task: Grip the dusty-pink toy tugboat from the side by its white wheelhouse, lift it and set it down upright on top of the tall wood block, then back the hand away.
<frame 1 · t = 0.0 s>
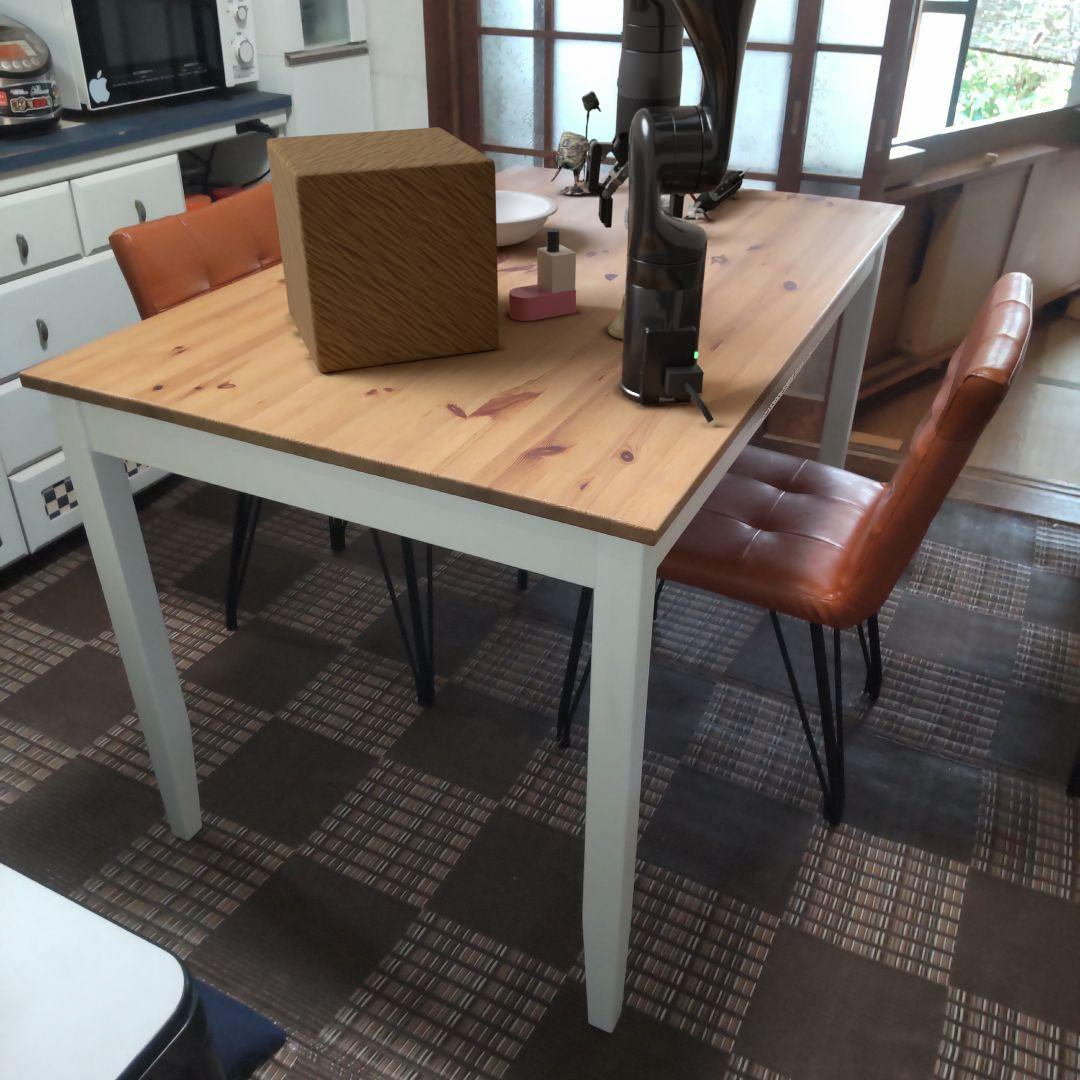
hand: (640, 224, 129), 17 cm above the table, tool pointing down, fingers open, 8 cm apart
toy boat: (556, 309, 153), on the table
soup bowl: (491, 243, 185), on the table
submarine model: (720, 207, 207), on the table
wood block: (390, 332, 145), on the table
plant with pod: (577, 193, 218), on the table
mug: (648, 239, 187), on the table
hand bell: (636, 333, 145), on the table
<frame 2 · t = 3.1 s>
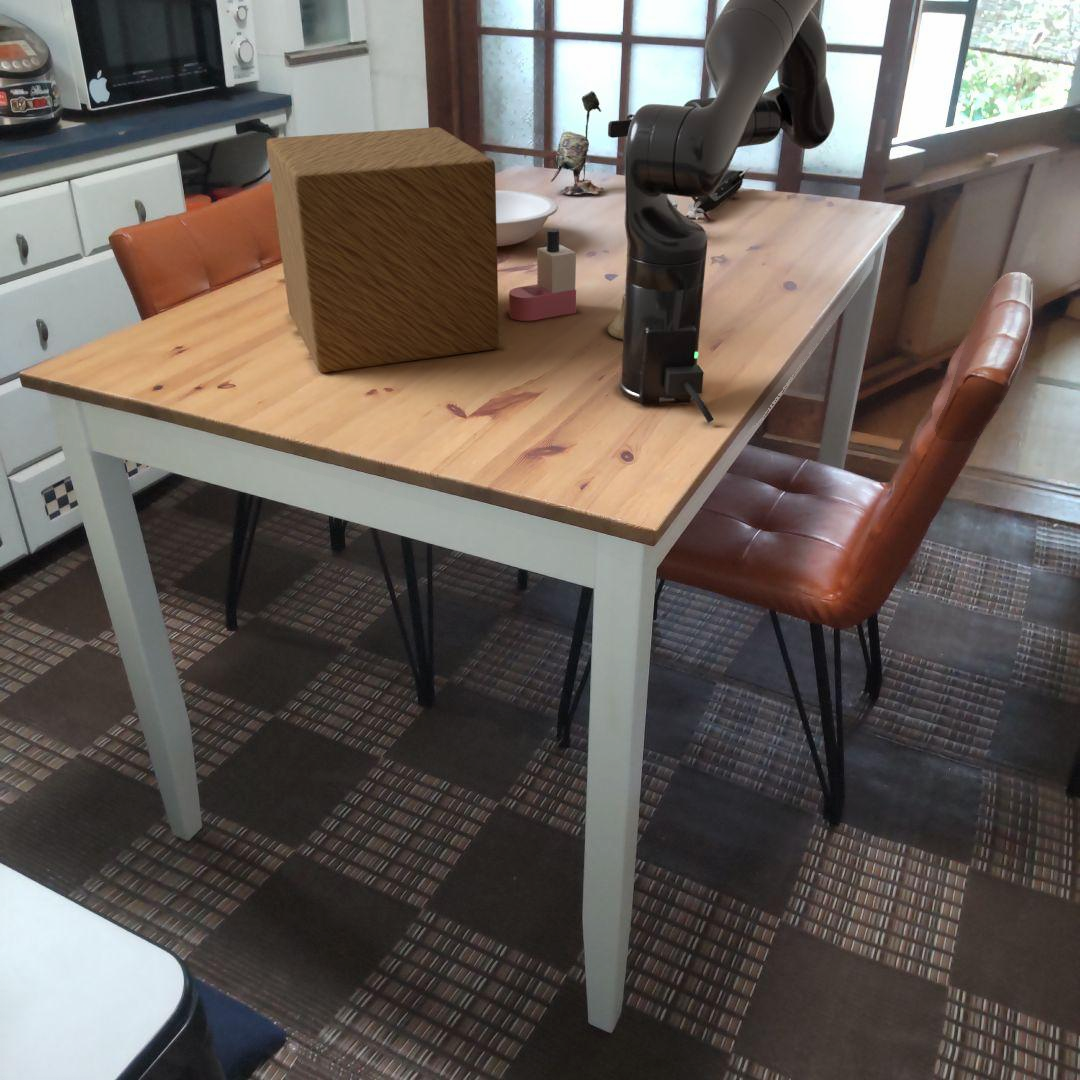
hand: (624, 134, 145), 24 cm above the table, tool horizontal, fingers open, 8 cm apart
nothing on the table moved.
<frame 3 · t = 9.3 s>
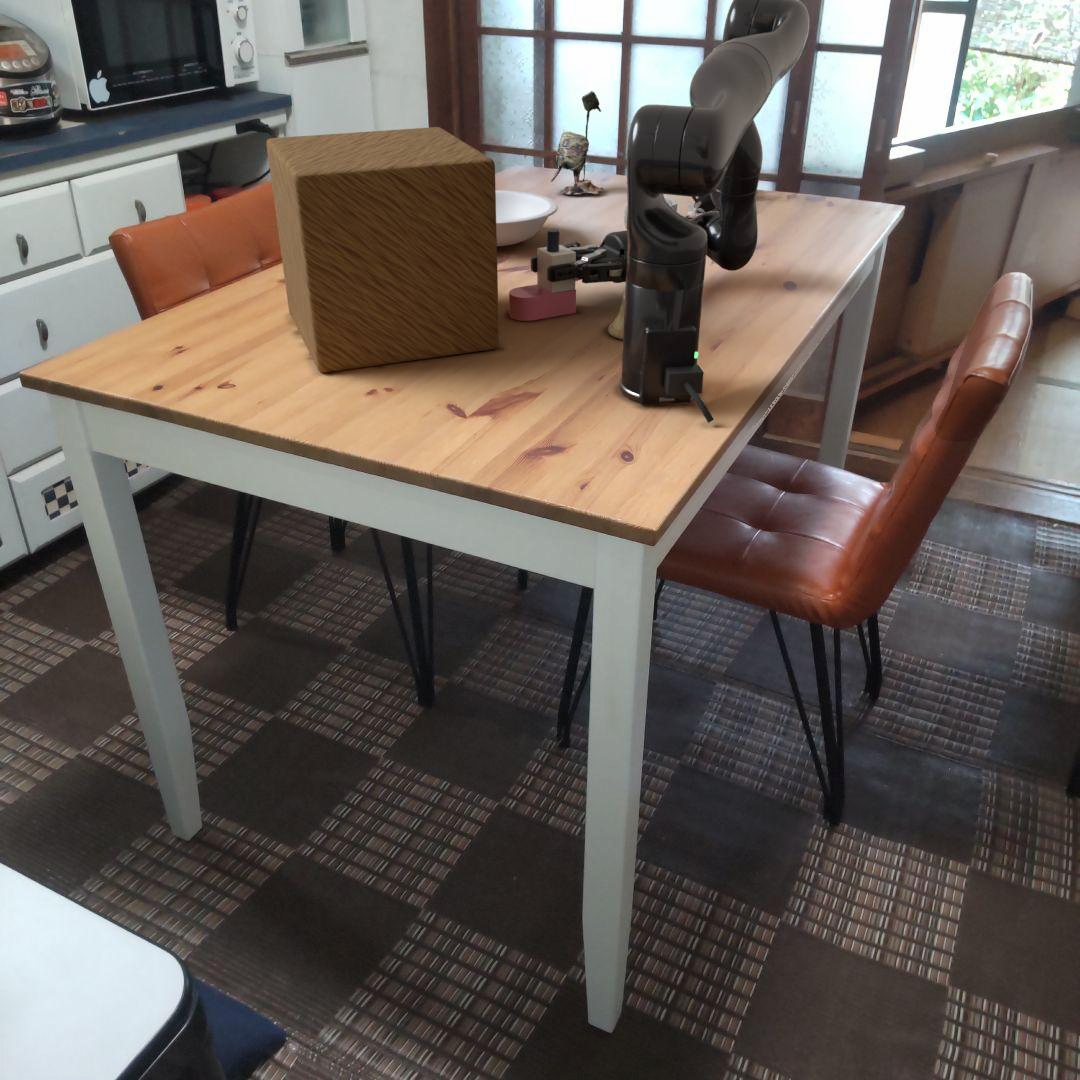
hand: (540, 269, 149), 7 cm above the table, tool horizontal, fingers closed on toy boat, 4 cm apart
toy boat: (556, 309, 153), on the table, touching gripper
everything else where it was.
when the fingers open (32 cm above the table, at t = 19.9 s): toy boat stays where it is, resting on wood block.
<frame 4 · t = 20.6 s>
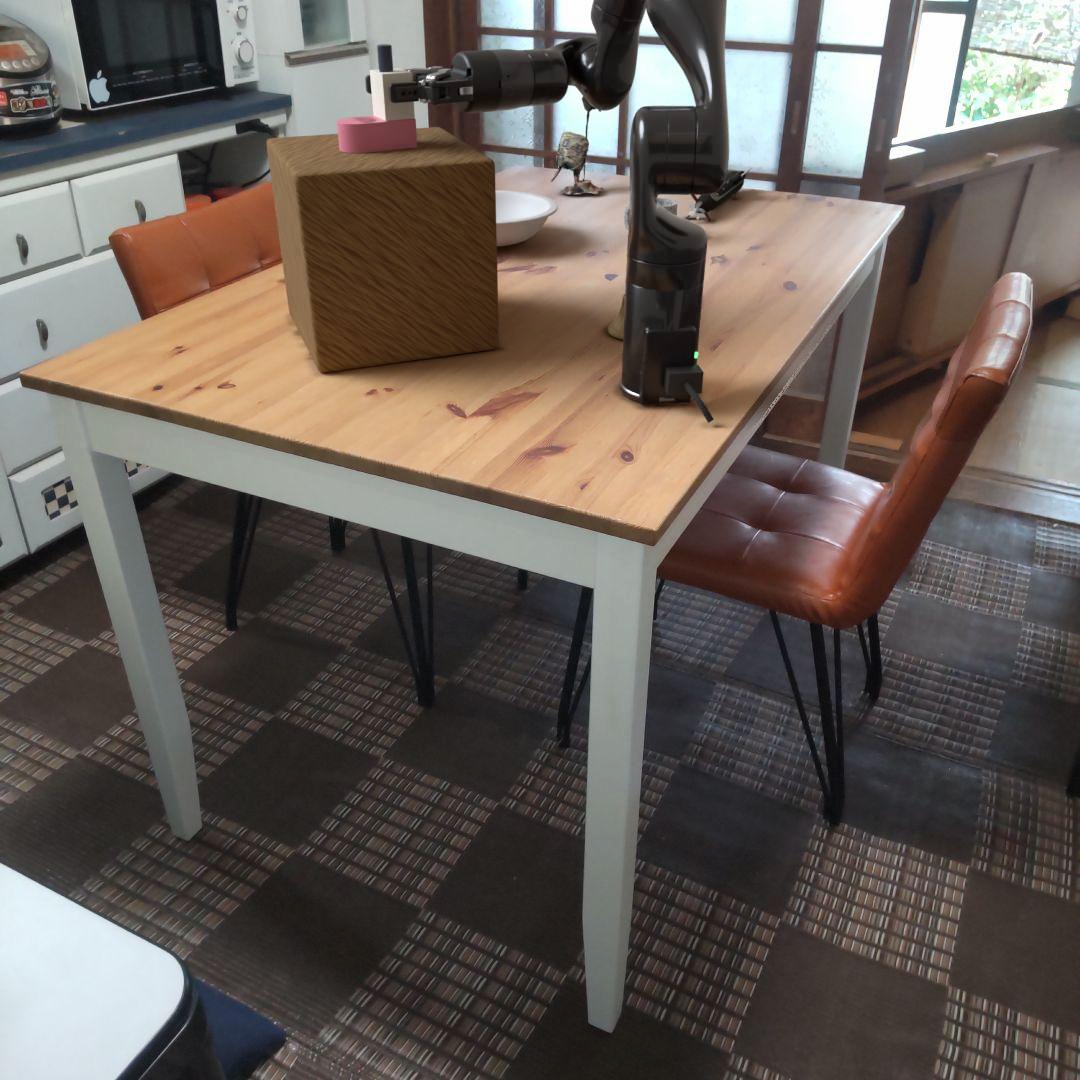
hand: (377, 89, 129), 32 cm above the table, tool horizontal, fingers open, 8 cm apart
toy boat: (396, 145, 133), point 25 cm above the table, touching wood block
wood block: (390, 332, 145), on the table, touching toy boat
everything else where it was.
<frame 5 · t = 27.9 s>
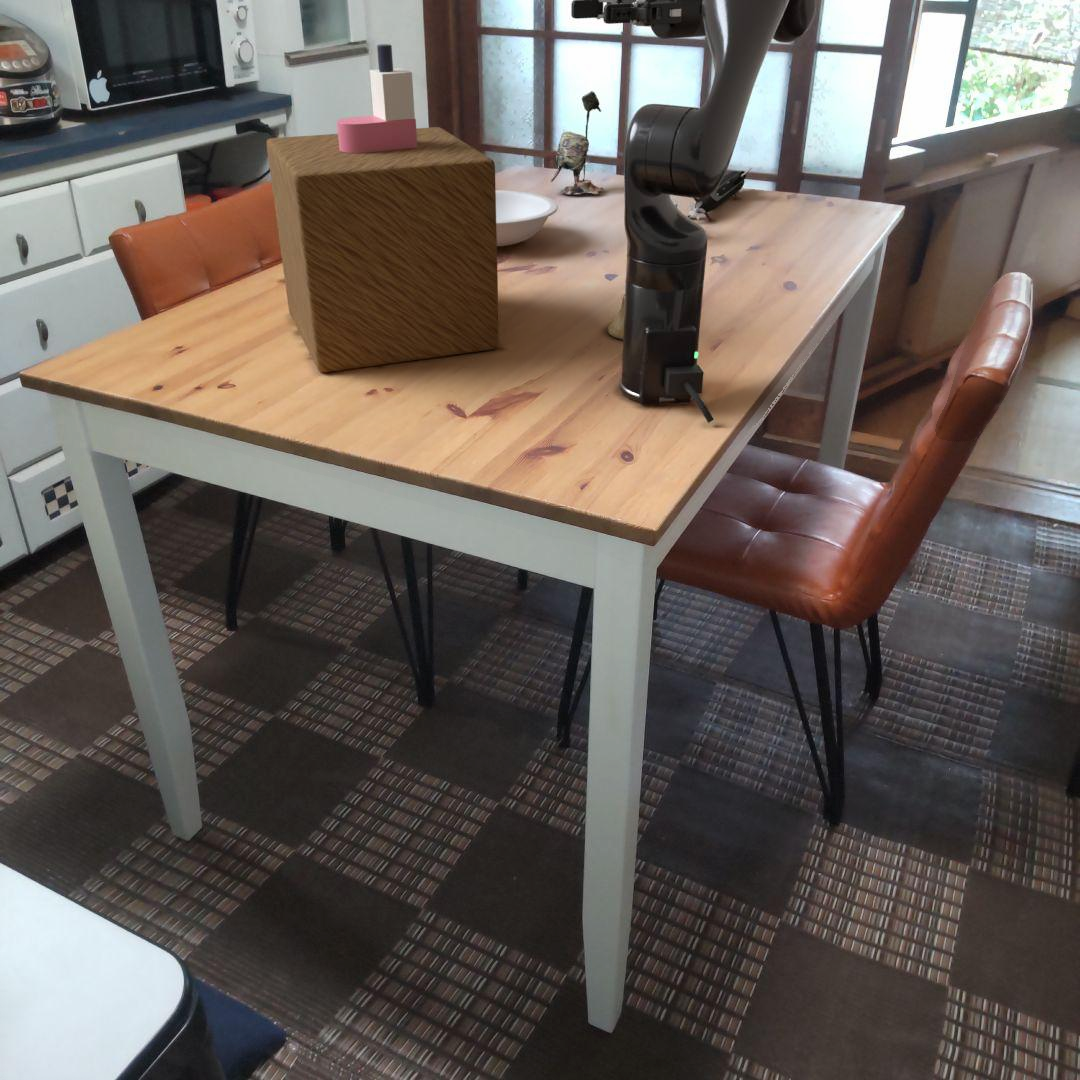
hand: (588, 11, 134), 40 cm above the table, tool horizontal, fingers open, 8 cm apart
nothing on the table moved.
at the end: toy boat inside the target area on the wood block (2.9 cm from its centre), point 25.2 cm above the wood block's base; toy boat tilted 0°; the gripper is holding nothing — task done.
